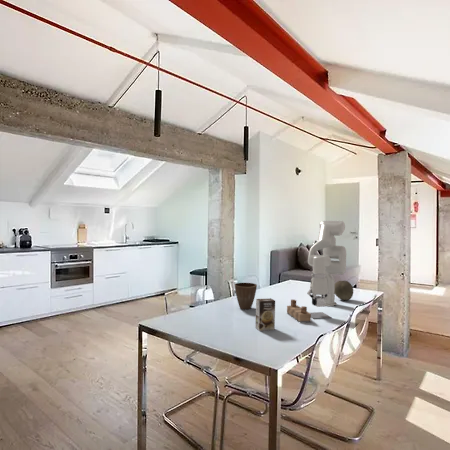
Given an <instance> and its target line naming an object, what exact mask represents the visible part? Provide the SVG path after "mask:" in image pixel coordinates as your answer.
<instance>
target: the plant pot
mask: <svg viewBox="0 0 450 450" xmlns="http://www.w3.org/2000/svg"><path fill="white" fill-rule="evenodd" d="M257 286H258V285H257V284H256V283H253V282H237V283H235V284H234V290H235V296H236V300H237V303H238V306H239V309H240V310H245V311H246V310H251V309H252V307H253V303H254V302H255V301H254V300H255V296H256V293H257Z"/></svg>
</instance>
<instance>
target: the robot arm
mask: <svg viewBox="0 0 450 450" xmlns="http://www.w3.org/2000/svg"><path fill="white" fill-rule="evenodd" d="M345 229H346V225H345V222H344V221H343V220H322V221H320V222H319V232H318V233H319V234H318V239H317V241H316V242H314V244H312V246H310V249H309V251H308V256H307V264H308V265H309V266H311V267H312V273H311V274H310V276H311V279H310V286H309V290H308V291H307V295H308V296H309V297H310V298H311V304H312V306H315V305H316V299H315V297H316V296H321V297H323V298H325V306H326V307H335V306H334V305H336V306H337V305H338V303H337V302H335V299H336V298H335V296H336V295H335V283H336V280H335V277H334V276H333V275H345V273H346V270H347V269H346V268H347V249H346V247H345V246H343V245H337V244H336V242H337V238H336V236H342V235H343V233H344V232H345ZM321 250H322V254H316V253H317V252H318V251H321ZM332 259H334V260H332ZM315 307H316V306H315Z"/></svg>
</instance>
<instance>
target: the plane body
mask: <svg viewBox="0 0 450 450" xmlns="http://www.w3.org/2000/svg"><path fill="white" fill-rule="evenodd" d="M307 310H308V307H307V306H303V305H302V306H301V307H300V306H299V305H297V300H296V299H290V305H287V306H286V314H287V315H288V316H289V317H291V318H292V317H293V318H292V319H294V320H295V321H296V320H297V321H296V322H298V323H299V322H306V323H311V321H312V318H311V314H310V313H311V312H309V311H307Z"/></svg>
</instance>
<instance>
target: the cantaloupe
mask: <svg viewBox="0 0 450 450" xmlns="http://www.w3.org/2000/svg"><path fill="white" fill-rule="evenodd" d="M335 296H336V297H337V298H338V299H339V300H342V301H344V300H346V301H348V300H351V299H352V298H353V296H354V288H353V285H352V284H351V282H349V281H347V280H337V281H335Z"/></svg>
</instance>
